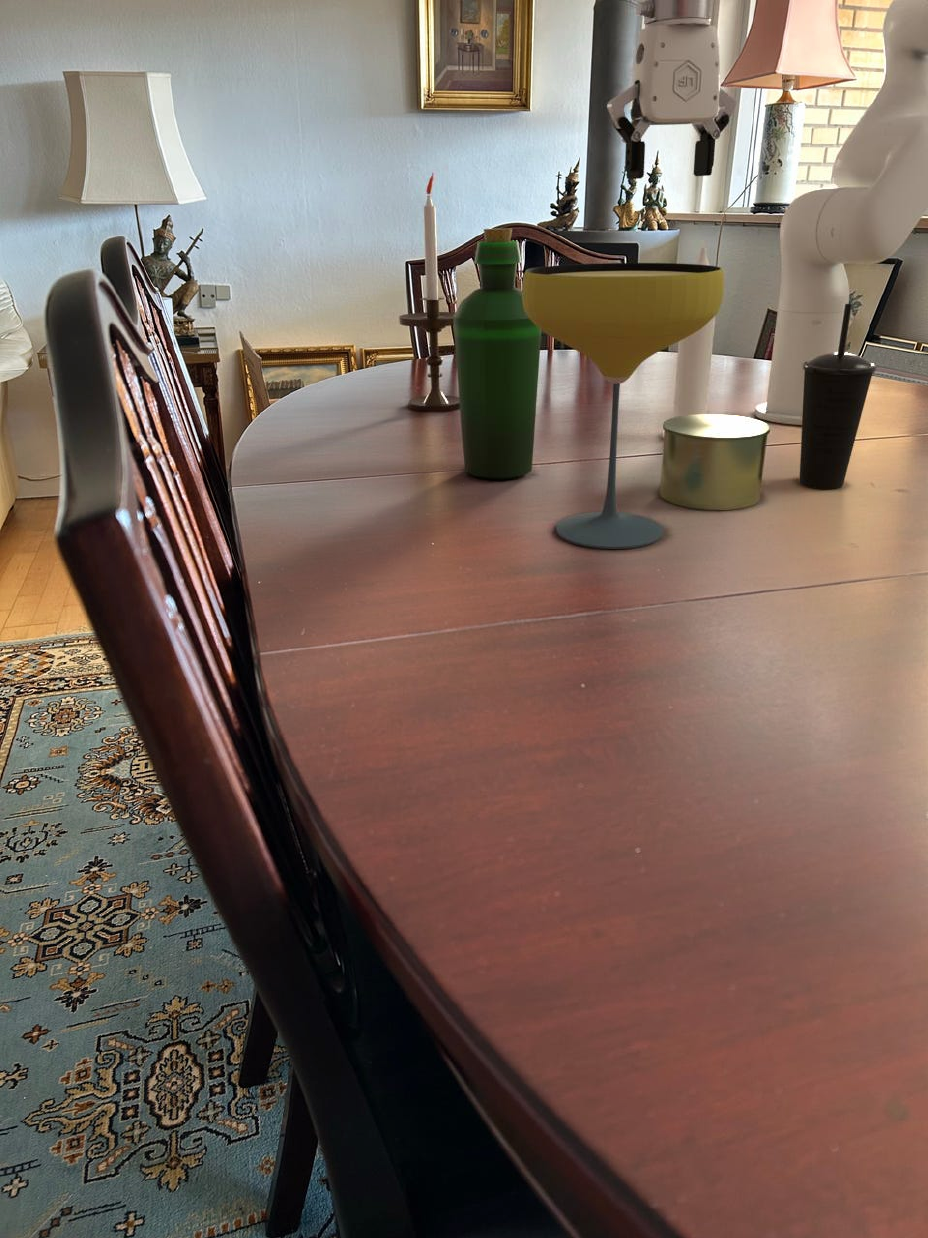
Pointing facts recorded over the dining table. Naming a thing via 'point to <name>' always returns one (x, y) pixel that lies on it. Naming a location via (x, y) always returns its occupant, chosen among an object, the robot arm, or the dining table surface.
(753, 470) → the tin
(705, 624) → the dining table surface
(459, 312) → the bottle
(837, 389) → the drinking cup
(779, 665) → the dining table surface
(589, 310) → the cocktail glass
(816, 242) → the robot arm
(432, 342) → the candlestick
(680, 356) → the candle
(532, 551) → the dining table surface
